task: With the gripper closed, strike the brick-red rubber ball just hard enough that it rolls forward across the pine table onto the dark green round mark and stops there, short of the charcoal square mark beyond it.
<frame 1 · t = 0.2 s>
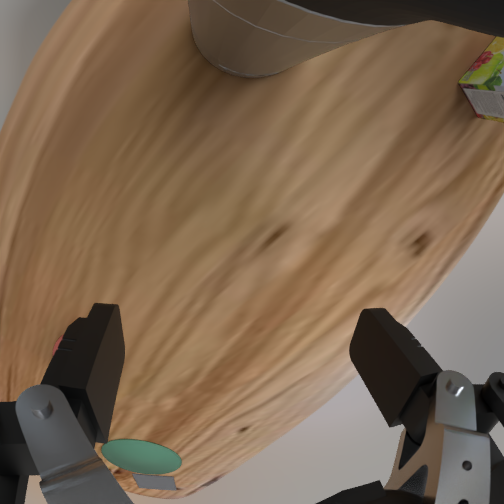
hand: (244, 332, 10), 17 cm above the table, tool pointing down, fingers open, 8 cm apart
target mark: (141, 458, 42), on the table
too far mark: (155, 482, 47), on the table
snack box: (500, 55, 22), on the table
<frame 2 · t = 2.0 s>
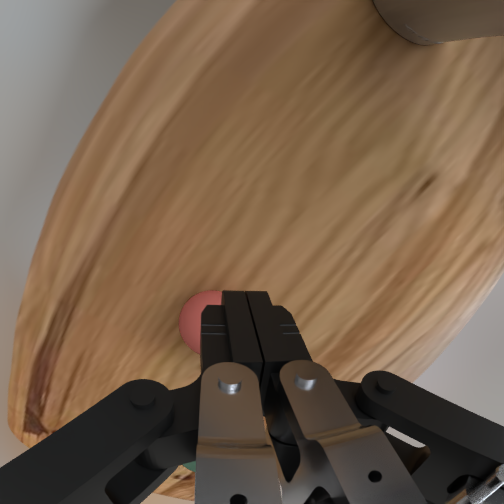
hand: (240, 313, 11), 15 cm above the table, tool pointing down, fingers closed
ball: (212, 323, 25), on the table
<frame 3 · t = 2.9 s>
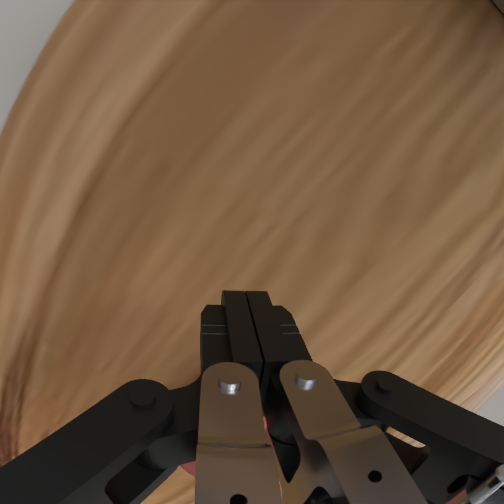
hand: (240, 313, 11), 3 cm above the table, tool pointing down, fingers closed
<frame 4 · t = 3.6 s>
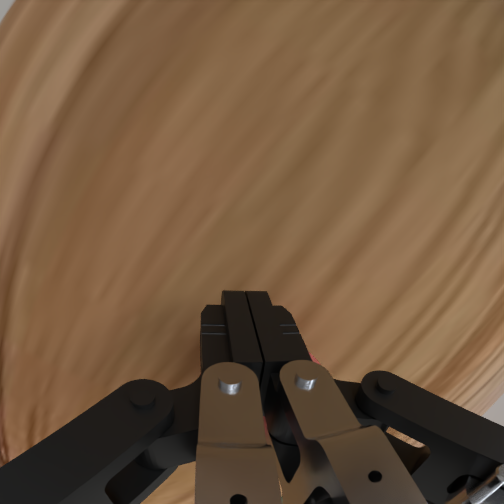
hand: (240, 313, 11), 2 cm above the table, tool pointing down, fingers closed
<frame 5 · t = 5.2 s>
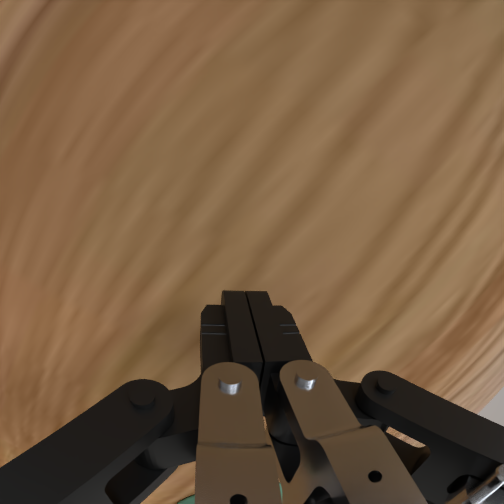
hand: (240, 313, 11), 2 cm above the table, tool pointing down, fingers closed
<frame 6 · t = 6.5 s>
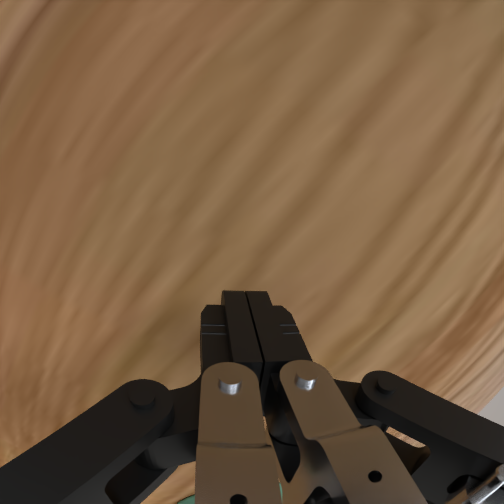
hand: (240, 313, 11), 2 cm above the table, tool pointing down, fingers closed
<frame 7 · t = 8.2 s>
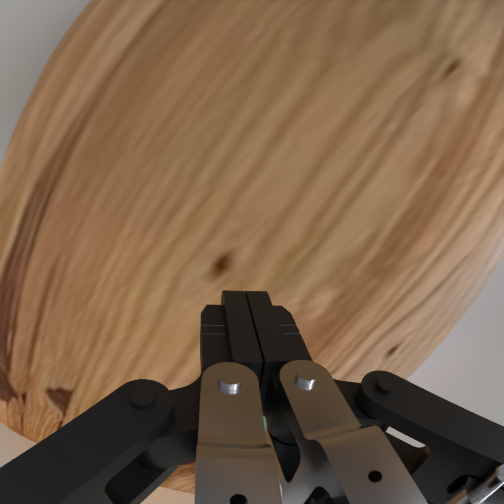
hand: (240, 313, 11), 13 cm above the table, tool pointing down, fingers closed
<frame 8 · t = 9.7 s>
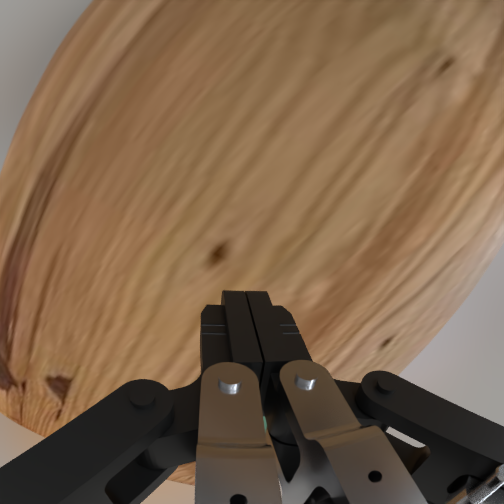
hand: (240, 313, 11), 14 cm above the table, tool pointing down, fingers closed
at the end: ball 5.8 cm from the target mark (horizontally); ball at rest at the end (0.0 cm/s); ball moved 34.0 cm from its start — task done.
